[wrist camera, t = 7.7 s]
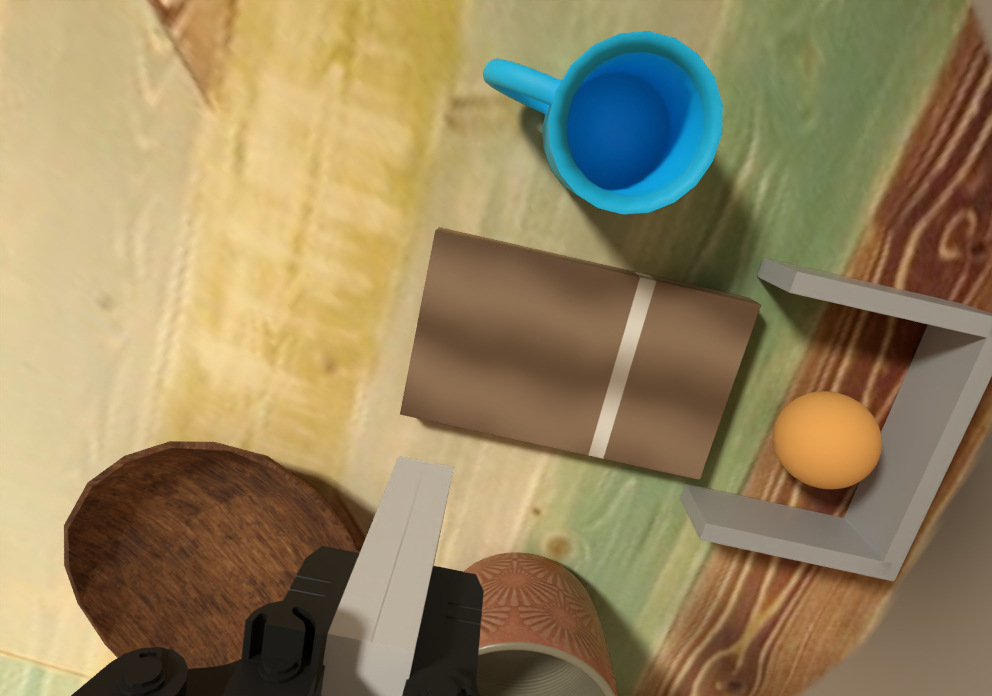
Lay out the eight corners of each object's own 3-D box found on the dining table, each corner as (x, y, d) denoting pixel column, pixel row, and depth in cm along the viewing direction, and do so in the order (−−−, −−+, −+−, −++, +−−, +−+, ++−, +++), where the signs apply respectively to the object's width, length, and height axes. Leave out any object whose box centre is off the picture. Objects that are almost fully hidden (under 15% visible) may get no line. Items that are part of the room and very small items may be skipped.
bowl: (283, 365, 43) (254, 391, 38) (440, 614, 48) (431, 665, 43) (54, 481, 46) (0, 519, 41) (224, 704, 51) (194, 760, 46)
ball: (777, 384, 38) (881, 433, 35) (814, 368, 42) (911, 410, 39) (743, 467, 41) (837, 521, 37) (781, 444, 45) (870, 491, 41)
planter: (554, 506, 45) (566, 611, 35) (628, 637, 48) (659, 770, 37) (403, 573, 47) (370, 692, 36) (483, 695, 50) (473, 837, 39)
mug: (705, 93, 37) (755, 75, 29) (642, 224, 39) (673, 240, 31) (515, 5, 36) (514, -37, 28) (461, 145, 38) (447, 142, 30)
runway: (439, 227, 40) (435, 230, 38) (749, 298, 40) (760, 304, 38) (405, 402, 43) (400, 414, 41) (691, 465, 44) (699, 479, 42)
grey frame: (763, 257, 40) (797, 271, 35) (957, 302, 40) (1017, 322, 35) (680, 498, 44) (699, 539, 40) (853, 536, 45) (894, 581, 40)
